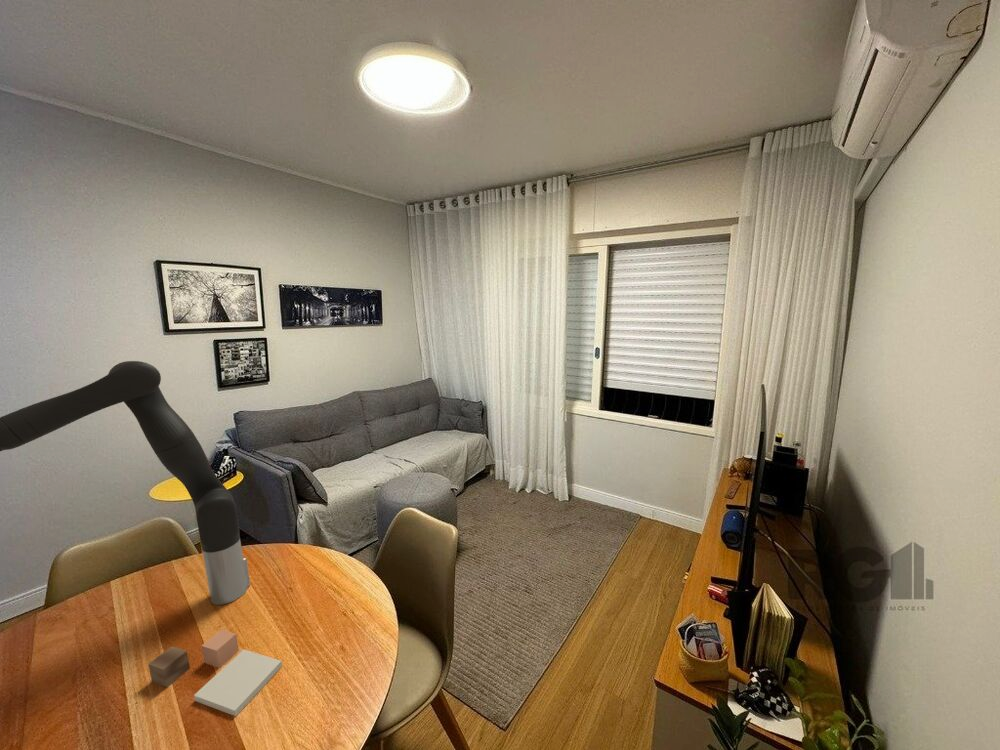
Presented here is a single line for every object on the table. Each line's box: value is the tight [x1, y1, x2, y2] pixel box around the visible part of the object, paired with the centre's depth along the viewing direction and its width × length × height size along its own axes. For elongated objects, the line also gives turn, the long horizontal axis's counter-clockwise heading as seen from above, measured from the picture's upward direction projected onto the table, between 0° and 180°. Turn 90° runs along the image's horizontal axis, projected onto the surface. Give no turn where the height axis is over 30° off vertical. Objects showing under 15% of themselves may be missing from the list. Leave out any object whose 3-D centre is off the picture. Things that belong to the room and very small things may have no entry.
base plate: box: [193, 649, 283, 717], centre depth 88 cm, size 12×12×2 cm
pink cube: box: [201, 629, 240, 669], centre depth 95 cm, size 5×5×5 cm
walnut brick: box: [148, 645, 191, 688], centre depth 90 cm, size 5×5×5 cm
